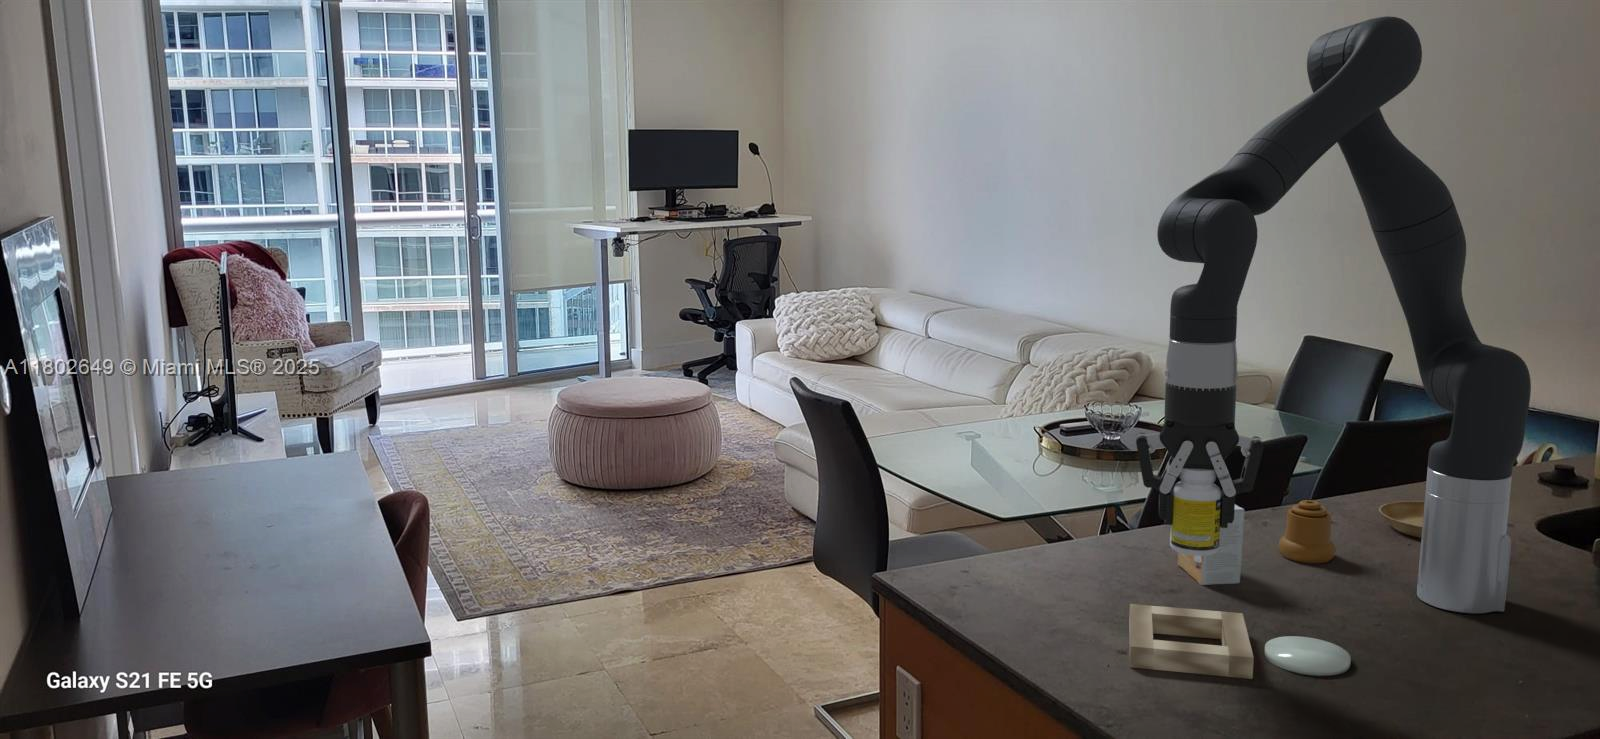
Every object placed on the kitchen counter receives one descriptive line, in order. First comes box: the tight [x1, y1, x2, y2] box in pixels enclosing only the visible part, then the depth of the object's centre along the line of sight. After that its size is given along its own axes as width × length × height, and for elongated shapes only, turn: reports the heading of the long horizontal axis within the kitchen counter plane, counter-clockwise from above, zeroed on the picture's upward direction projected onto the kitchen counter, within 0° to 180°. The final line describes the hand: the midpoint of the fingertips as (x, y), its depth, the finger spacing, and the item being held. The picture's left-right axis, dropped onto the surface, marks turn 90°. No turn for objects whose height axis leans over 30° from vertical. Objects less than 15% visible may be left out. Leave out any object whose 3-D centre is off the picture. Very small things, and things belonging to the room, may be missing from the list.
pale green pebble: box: [1264, 635, 1352, 677], centre depth 134 cm, size 9×9×1 cm
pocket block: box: [1128, 603, 1255, 680], centre depth 137 cm, size 13×13×2 cm
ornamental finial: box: [1278, 499, 1337, 565], centre depth 167 cm, size 8×8×8 cm
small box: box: [1177, 503, 1246, 586], centre depth 160 cm, size 8×6×10 cm
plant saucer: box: [1378, 500, 1425, 539], centre depth 179 cm, size 15×15×3 cm
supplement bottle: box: [1169, 467, 1223, 556], centre depth 134 cm, size 5×5×10 cm
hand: (1195, 523), depth 134 cm, fingers closed on supplement bottle, 5 cm apart
